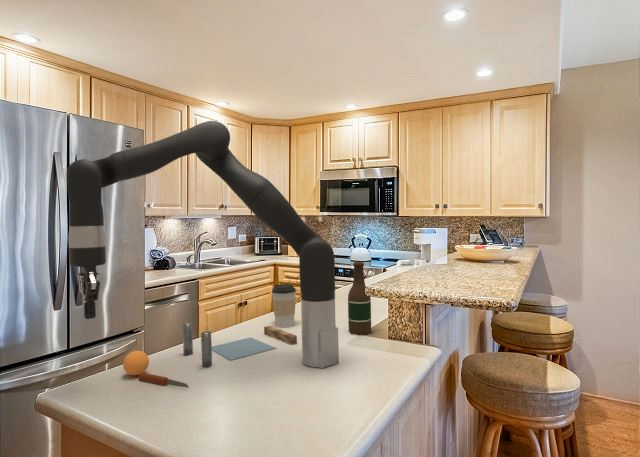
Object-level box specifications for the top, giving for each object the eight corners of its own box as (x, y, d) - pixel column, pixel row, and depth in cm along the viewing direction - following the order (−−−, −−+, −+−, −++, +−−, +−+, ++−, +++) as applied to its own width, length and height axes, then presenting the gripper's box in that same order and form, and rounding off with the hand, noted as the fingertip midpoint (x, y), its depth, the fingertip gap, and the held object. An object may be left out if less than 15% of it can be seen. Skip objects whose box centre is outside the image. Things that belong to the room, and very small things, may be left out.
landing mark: (276, 348, 119) (276, 347, 119) (230, 360, 109) (230, 359, 109) (250, 337, 130) (250, 337, 130) (207, 348, 121) (207, 347, 121)
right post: (213, 365, 106) (212, 332, 105) (204, 368, 104) (203, 334, 104) (209, 363, 108) (208, 330, 107) (200, 365, 106) (199, 332, 106)
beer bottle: (370, 335, 130) (369, 263, 129) (347, 335, 131) (345, 263, 131) (372, 329, 137) (370, 260, 137) (350, 328, 139) (348, 260, 138)
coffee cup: (298, 321, 150) (297, 282, 150) (294, 328, 141) (293, 286, 141) (275, 321, 151) (274, 282, 150) (270, 328, 142) (269, 286, 141)
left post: (194, 353, 116) (193, 323, 116) (185, 355, 114) (184, 325, 114) (190, 351, 118) (190, 321, 118) (182, 353, 116) (181, 323, 116)
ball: (152, 374, 100) (151, 351, 100) (127, 381, 96) (126, 357, 96) (145, 368, 105) (144, 346, 105) (120, 374, 101) (120, 351, 101)
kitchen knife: (137, 381, 97) (137, 373, 97) (142, 379, 98) (142, 371, 98) (186, 392, 90) (186, 383, 90) (191, 389, 91) (190, 381, 91)
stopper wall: (296, 343, 123) (296, 335, 123) (291, 344, 122) (291, 336, 122) (269, 333, 136) (269, 325, 136) (264, 334, 134) (264, 326, 134)
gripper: (111, 245, 91) (113, 320, 91) (99, 243, 101) (101, 310, 101) (73, 247, 86) (76, 326, 86) (64, 245, 96) (67, 315, 96)
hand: (89, 317), depth 94 cm, fingers closed
